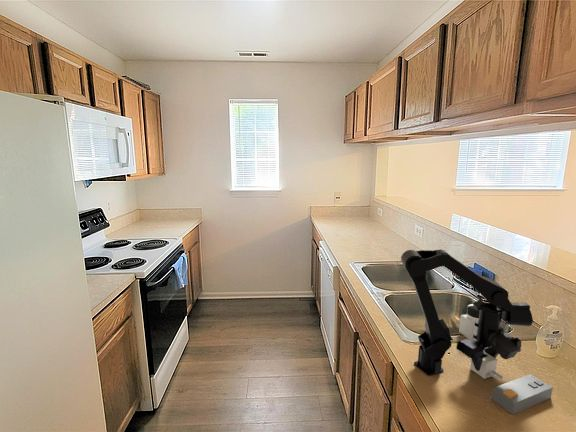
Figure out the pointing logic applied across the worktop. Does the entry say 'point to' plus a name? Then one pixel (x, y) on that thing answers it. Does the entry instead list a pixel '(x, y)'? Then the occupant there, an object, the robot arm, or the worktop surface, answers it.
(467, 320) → the medicine bottle
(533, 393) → the power strip
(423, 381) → the worktop surface
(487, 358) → the charger
